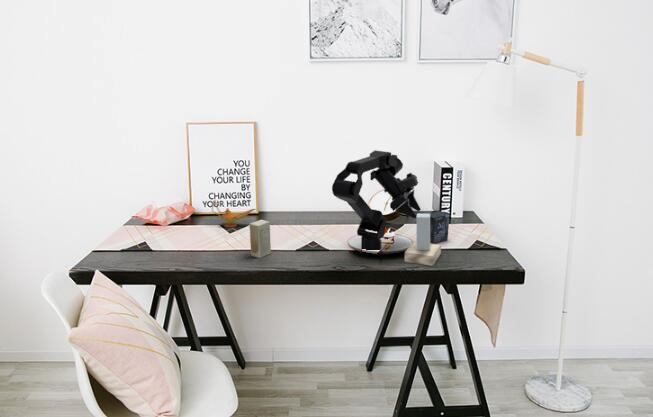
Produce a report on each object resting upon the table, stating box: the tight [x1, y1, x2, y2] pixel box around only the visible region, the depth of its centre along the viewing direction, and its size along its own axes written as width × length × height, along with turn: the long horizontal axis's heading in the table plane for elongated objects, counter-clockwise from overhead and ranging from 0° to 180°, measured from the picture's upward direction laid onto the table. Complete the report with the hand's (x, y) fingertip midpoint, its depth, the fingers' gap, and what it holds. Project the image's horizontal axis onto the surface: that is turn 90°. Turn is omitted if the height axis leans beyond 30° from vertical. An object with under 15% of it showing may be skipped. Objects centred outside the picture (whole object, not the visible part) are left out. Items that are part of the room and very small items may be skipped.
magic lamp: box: [211, 199, 257, 228], centre depth 252 cm, size 7×18×11 cm, turn 94°
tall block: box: [415, 213, 431, 250], centre depth 216 cm, size 4×4×12 cm
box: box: [427, 210, 450, 244], centre depth 235 cm, size 8×6×11 cm
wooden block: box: [403, 240, 442, 267], centre depth 219 cm, size 10×12×4 cm
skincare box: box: [249, 219, 272, 259], centre depth 220 cm, size 6×4×12 cm
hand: (417, 213), depth 223 cm, fingers open, 9 cm apart
